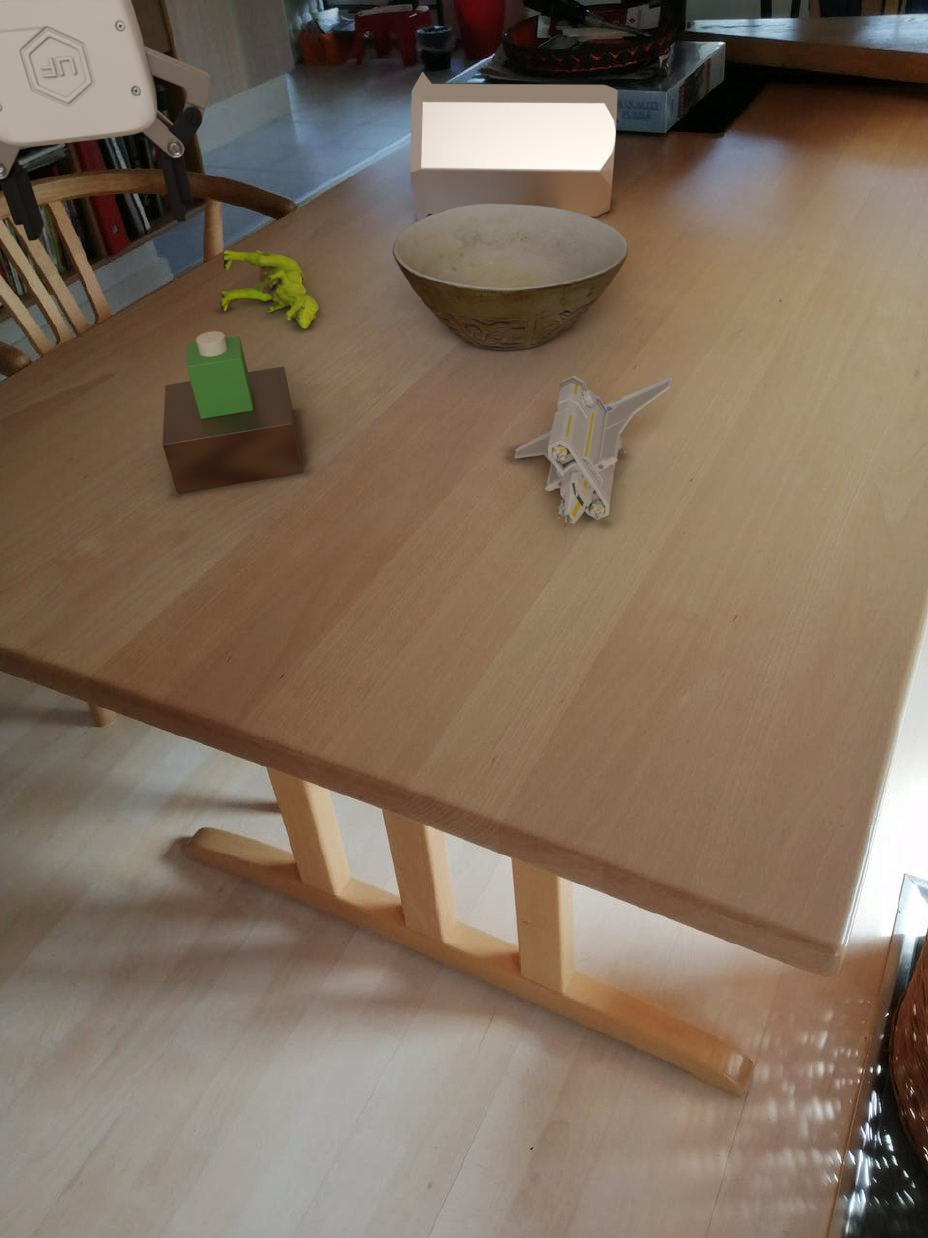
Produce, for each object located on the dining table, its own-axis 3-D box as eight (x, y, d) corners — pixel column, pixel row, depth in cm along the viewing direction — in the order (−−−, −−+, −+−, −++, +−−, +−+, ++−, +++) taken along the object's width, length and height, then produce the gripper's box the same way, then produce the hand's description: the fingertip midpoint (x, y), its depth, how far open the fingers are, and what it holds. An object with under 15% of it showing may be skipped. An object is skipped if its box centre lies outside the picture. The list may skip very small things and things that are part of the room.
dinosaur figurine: (190, 290, 122) (177, 239, 117) (265, 267, 126) (255, 216, 122) (264, 344, 109) (252, 289, 105) (345, 316, 113) (337, 262, 109)
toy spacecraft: (540, 479, 91) (693, 411, 84) (516, 587, 80) (690, 520, 73) (493, 410, 87) (649, 333, 80) (461, 514, 76) (639, 436, 69)
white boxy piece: (422, 249, 137) (404, 143, 119) (433, 154, 142) (418, 39, 125) (606, 252, 135) (616, 145, 117) (610, 156, 140) (620, 39, 122)
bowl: (639, 288, 113) (643, 196, 106) (606, 389, 96) (608, 288, 89) (439, 280, 119) (431, 193, 112) (374, 375, 102) (361, 278, 95)
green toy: (200, 419, 87) (182, 353, 83) (200, 394, 90) (183, 330, 86) (253, 410, 87) (238, 344, 83) (251, 386, 91) (236, 321, 87)
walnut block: (177, 494, 87) (162, 444, 84) (179, 432, 96) (165, 384, 92) (302, 472, 88) (292, 423, 85) (293, 413, 97) (284, 365, 93)
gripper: (-152, -59, 53) (-32, 260, 64) (175, -88, 56) (238, 225, 67) (-120, -72, 59) (-14, 223, 70) (176, -99, 61) (234, 192, 72)
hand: (109, 224), depth 68 cm, fingers open, 9 cm apart
